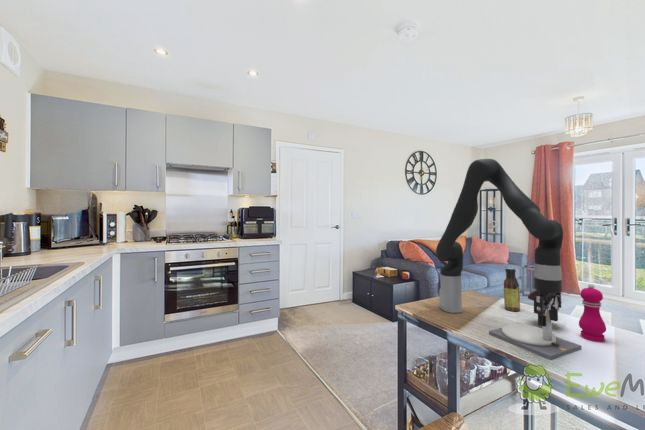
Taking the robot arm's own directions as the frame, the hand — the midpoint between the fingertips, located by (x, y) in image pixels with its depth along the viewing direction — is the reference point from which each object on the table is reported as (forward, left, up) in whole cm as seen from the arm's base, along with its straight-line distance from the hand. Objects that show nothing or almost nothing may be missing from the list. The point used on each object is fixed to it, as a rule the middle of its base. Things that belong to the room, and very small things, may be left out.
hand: (548, 323), depth 96 cm
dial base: (-5, -1, -8) cm, 10 cm away
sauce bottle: (-29, +25, -8) cm, 39 cm away
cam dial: (-5, -1, -7) cm, 9 cm away
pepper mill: (+3, +21, -8) cm, 23 cm away
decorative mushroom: (-11, +18, -8) cm, 23 cm away
